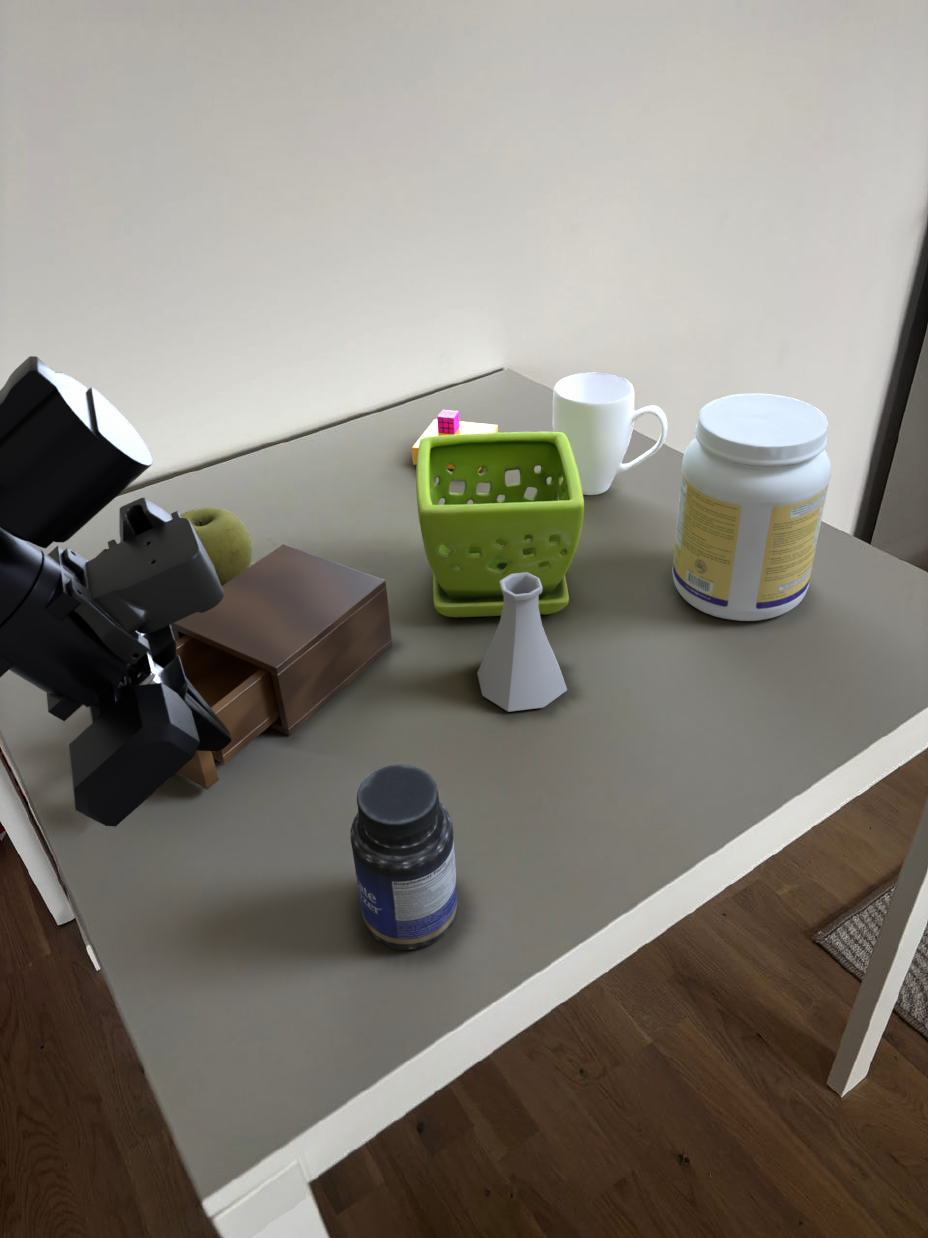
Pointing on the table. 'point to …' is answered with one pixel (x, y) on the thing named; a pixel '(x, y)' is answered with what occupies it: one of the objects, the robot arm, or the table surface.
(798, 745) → the table surface
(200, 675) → the drawer
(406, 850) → the pill bottle
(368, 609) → the cabinet
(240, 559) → the apple
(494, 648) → the flask
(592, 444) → the mug
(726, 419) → the supplement tub
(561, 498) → the flower pot
